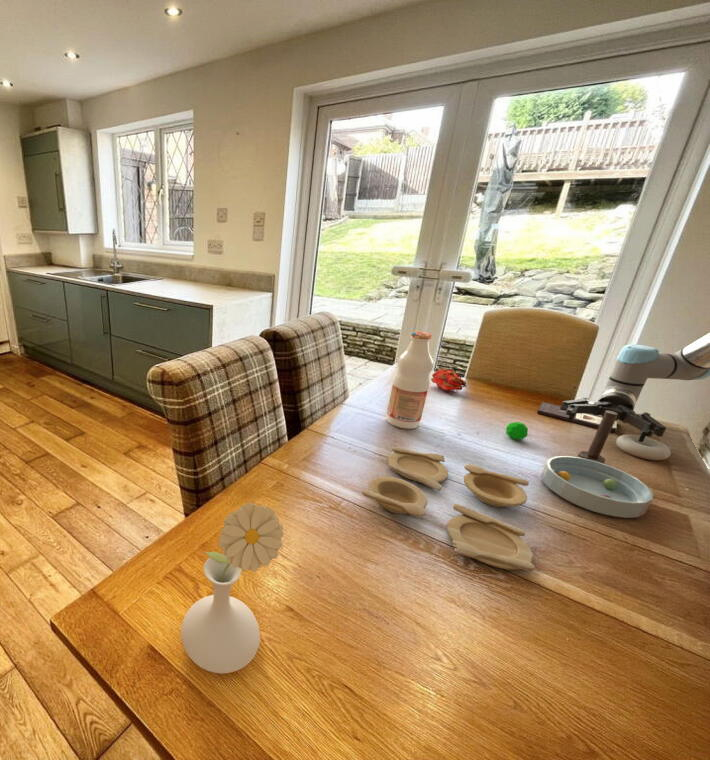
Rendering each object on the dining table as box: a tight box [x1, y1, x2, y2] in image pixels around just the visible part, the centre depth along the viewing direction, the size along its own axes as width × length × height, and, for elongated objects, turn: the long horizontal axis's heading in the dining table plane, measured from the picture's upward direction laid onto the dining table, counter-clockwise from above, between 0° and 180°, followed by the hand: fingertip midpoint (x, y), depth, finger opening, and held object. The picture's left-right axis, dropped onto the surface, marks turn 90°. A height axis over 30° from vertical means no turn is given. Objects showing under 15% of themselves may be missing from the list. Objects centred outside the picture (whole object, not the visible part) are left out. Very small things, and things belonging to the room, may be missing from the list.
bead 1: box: [557, 471, 571, 481], centre depth 92 cm, size 2×2×2 cm
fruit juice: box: [385, 331, 434, 430], centre depth 115 cm, size 9×9×28 cm
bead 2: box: [603, 479, 618, 490], centre depth 89 cm, size 2×2×2 cm
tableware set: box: [361, 446, 535, 572], centre depth 85 cm, size 35×29×4 cm
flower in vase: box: [180, 502, 285, 674], centre depth 53 cm, size 13×11×25 cm
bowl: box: [541, 455, 654, 519], centre depth 88 cm, size 17×17×4 cm
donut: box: [615, 433, 672, 461], centre depth 105 cm, size 10×4×10 cm
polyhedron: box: [505, 421, 529, 441], centre depth 111 cm, size 5×5×5 cm
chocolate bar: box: [537, 401, 618, 433], centre depth 123 cm, size 9×1×18 cm
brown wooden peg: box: [577, 411, 618, 464], centre depth 99 cm, size 5×5×14 cm
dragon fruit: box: [430, 367, 467, 394], centre depth 143 cm, size 8×8×12 cm
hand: (605, 426), depth 102 cm, fingers open, 13 cm apart
